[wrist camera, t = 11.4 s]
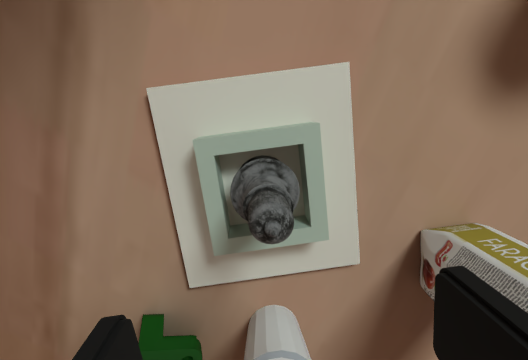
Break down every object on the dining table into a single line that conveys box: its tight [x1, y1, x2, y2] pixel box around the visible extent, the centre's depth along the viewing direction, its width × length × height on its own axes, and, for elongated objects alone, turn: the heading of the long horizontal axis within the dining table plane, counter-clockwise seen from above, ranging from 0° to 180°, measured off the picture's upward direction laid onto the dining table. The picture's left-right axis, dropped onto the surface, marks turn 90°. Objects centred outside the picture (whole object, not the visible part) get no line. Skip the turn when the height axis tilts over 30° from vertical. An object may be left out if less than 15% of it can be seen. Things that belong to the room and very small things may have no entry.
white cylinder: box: [244, 305, 311, 360], centre depth 29 cm, size 7×7×7 cm
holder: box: [146, 62, 360, 288], centre depth 27 cm, size 20×18×4 cm
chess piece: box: [230, 155, 300, 244], centre depth 22 cm, size 6×6×12 cm
